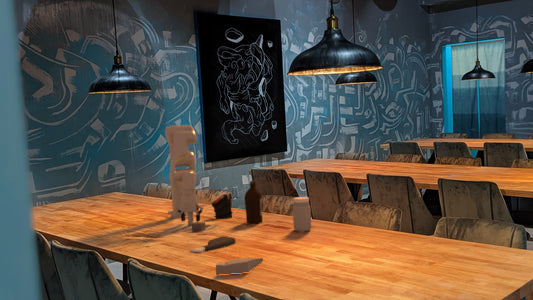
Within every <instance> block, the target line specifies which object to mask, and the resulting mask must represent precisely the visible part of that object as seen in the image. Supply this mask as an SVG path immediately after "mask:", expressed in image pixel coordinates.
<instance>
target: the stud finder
mask: <svg viewBox="0 0 533 300" xmlns="http://www.w3.org/2000/svg"><path fill="white" fill-rule="evenodd" d="M205 225H206V222H204V221H198V222H197V221H194V223H192V231H203V230H205Z"/></svg>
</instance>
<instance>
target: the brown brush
mask: <svg viewBox="0 0 533 300" xmlns="http://www.w3.org/2000/svg"><path fill="white" fill-rule="evenodd" d="M231 244H232V245H234V244H236V238H234V237H230V236H218V237H216V238H212V239H210V240H208V242H207V244H206V245H203V246H201V247H196V248H189V251H190V252H194V253H201V254H202V253H203V252H205V251H212V249H213V250H216V249H217V248H218V249H222V248H225V247H224V246H226V247H228V245H229V246H232V245H231ZM221 247H222V248H221Z"/></svg>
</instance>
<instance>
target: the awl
mask: <svg viewBox="0 0 533 300" xmlns="http://www.w3.org/2000/svg"><path fill="white" fill-rule="evenodd" d="M187 214H188V218H187V224H188V226H192V223H195V221H194V212H187Z"/></svg>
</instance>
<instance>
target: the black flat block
mask: <svg viewBox="0 0 533 300" xmlns="http://www.w3.org/2000/svg"><path fill="white" fill-rule="evenodd" d="M231 205H232V202H230V200H229V196H228V195H227V194H222V195H220V196H219V197H218V198H216V200H214V201H213V202H211V207H213V209H214V210H213V212H214V218H215V219H216V220H225V219H229V218H233V211H232V207H231Z"/></svg>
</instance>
